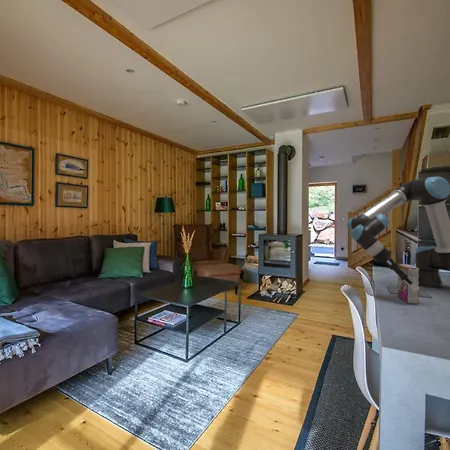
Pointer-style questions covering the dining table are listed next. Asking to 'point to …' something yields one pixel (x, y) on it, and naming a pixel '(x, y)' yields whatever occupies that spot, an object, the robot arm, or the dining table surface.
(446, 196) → the robot arm
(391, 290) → the rubber mat
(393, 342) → the dining table surface
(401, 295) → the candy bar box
